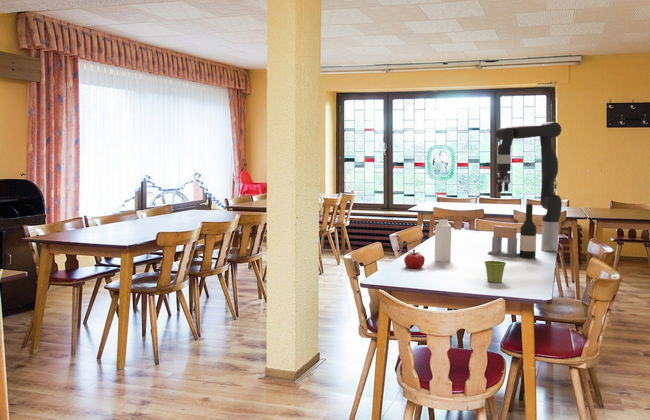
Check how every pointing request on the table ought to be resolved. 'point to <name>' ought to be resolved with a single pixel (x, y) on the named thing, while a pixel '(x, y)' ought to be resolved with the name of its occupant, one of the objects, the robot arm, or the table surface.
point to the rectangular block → (505, 232)
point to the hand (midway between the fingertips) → (503, 191)
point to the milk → (443, 241)
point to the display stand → (498, 246)
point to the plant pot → (494, 270)
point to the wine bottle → (528, 235)
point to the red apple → (414, 260)
